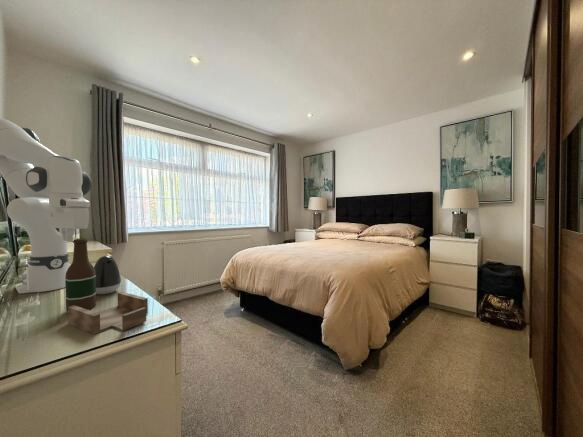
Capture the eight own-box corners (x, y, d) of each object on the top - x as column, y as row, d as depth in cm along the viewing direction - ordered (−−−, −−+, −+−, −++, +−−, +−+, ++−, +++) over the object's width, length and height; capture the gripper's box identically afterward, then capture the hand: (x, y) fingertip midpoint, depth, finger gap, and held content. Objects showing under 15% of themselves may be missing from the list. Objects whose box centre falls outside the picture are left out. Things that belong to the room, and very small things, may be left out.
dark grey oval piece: (96, 298, 91) (95, 259, 91) (85, 293, 97) (85, 256, 96) (126, 291, 100) (125, 255, 99) (114, 287, 105) (114, 252, 105)
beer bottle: (101, 304, 85) (101, 237, 85) (80, 314, 77) (79, 240, 77) (82, 303, 86) (81, 237, 85) (59, 312, 78) (57, 240, 78)
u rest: (68, 323, 71) (67, 306, 70) (122, 306, 84) (122, 291, 84) (106, 340, 62) (106, 320, 62) (160, 317, 75) (160, 301, 75)
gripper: (41, 202, 86) (42, 240, 87) (69, 201, 77) (70, 243, 78) (63, 203, 92) (64, 238, 92) (92, 202, 83) (93, 241, 84)
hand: (67, 241), depth 85 cm, fingers closed
